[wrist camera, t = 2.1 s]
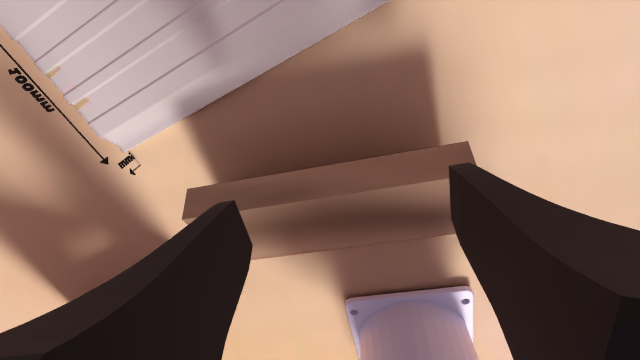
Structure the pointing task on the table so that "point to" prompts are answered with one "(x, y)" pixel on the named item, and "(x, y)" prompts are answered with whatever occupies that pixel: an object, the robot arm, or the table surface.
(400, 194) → the plank
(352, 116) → the table surface
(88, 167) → the table surface
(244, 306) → the table surface
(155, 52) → the baseboard
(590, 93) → the table surface
